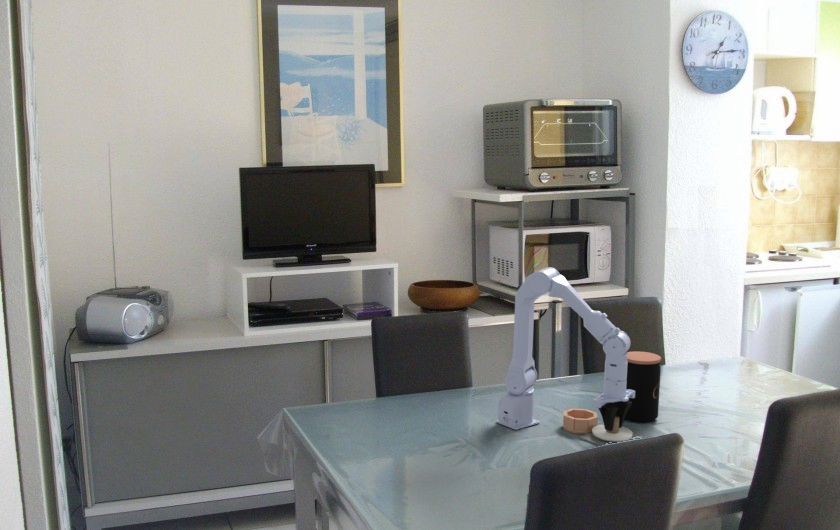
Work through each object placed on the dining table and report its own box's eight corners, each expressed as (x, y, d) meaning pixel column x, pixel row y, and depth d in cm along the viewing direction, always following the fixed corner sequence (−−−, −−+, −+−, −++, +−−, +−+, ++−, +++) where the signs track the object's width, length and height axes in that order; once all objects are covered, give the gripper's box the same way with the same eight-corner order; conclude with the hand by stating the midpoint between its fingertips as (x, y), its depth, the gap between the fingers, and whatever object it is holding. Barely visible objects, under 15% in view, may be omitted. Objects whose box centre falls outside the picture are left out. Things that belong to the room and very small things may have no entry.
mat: (611, 450, 215) (611, 449, 215) (578, 438, 224) (578, 436, 224) (646, 439, 224) (646, 437, 224) (613, 427, 232) (613, 426, 232)
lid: (614, 444, 217) (616, 427, 216) (583, 432, 225) (584, 414, 224) (640, 436, 223) (641, 418, 222) (609, 424, 231) (610, 407, 230)
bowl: (581, 436, 225) (581, 422, 225) (556, 427, 232) (556, 413, 232) (603, 429, 231) (604, 415, 230) (578, 420, 238) (579, 406, 237)
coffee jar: (659, 425, 234) (662, 362, 232) (619, 422, 236) (622, 359, 234) (656, 413, 245) (659, 352, 242) (618, 410, 247) (621, 350, 244)
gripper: (609, 387, 214) (606, 438, 216) (645, 377, 223) (642, 427, 225) (587, 380, 219) (585, 430, 221) (624, 371, 228) (621, 419, 230)
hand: (613, 428), depth 224 cm, fingers closed on lid, 3 cm apart
